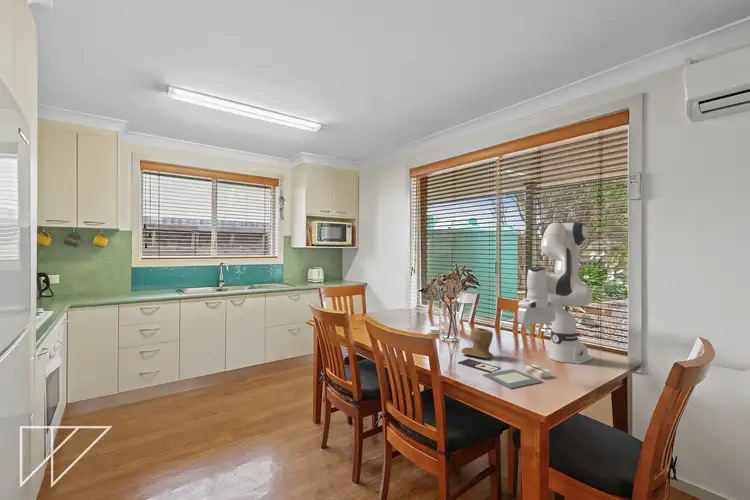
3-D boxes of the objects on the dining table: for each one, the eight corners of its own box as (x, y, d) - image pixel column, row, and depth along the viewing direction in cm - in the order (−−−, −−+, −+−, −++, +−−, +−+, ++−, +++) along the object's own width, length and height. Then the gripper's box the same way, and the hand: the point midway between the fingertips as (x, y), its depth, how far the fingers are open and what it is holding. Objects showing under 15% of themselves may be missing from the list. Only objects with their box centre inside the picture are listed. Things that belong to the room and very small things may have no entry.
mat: (513, 370, 171) (513, 368, 171) (542, 382, 155) (542, 381, 155) (482, 375, 164) (482, 374, 164) (510, 389, 148) (510, 387, 148)
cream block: (523, 372, 169) (523, 365, 169) (533, 370, 171) (533, 364, 171) (540, 379, 160) (541, 372, 160) (550, 377, 162) (550, 370, 162)
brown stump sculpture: (497, 356, 192) (497, 328, 192) (486, 361, 184) (486, 332, 184) (471, 350, 203) (471, 324, 203) (460, 355, 194) (460, 327, 194)
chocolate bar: (468, 358, 187) (500, 367, 173) (468, 360, 187) (500, 369, 173) (457, 362, 181) (489, 371, 167) (457, 364, 181) (489, 373, 167)
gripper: (547, 300, 172) (547, 329, 172) (515, 302, 164) (515, 333, 164) (559, 302, 167) (559, 332, 167) (525, 304, 158) (525, 336, 158)
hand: (536, 332), depth 165 cm, fingers open, 8 cm apart
